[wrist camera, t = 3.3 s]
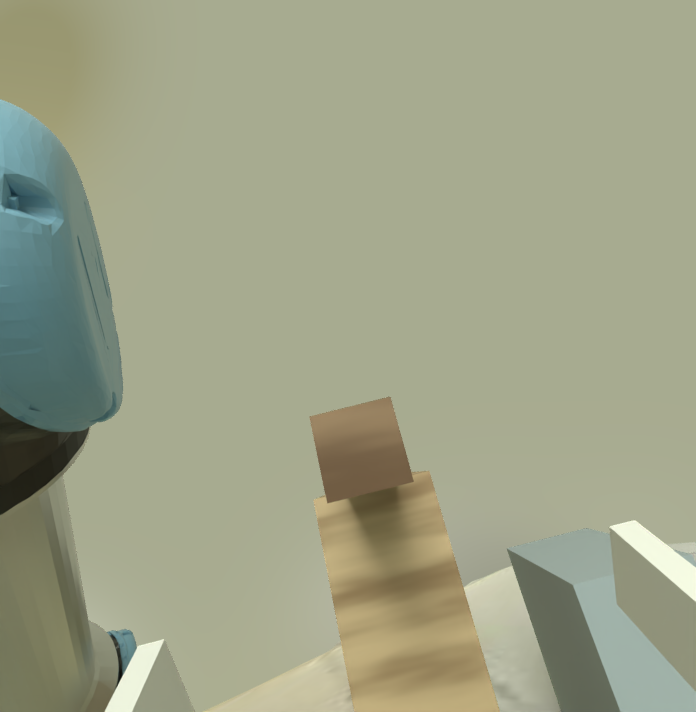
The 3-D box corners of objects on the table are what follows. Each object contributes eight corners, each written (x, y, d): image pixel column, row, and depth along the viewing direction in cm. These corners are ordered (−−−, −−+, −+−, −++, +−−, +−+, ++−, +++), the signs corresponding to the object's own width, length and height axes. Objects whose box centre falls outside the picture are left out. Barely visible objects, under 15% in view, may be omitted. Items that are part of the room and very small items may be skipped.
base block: (875, 941, 21) (691, 554, 27) (722, 982, 21) (572, 584, 27) (680, 759, 34) (586, 528, 40) (585, 784, 34) (506, 548, 40)
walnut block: (414, 481, 17) (390, 396, 18) (327, 503, 17) (309, 416, 18) (387, 477, 45) (379, 444, 46) (355, 485, 45) (348, 452, 46)
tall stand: (606, 1074, 19) (429, 470, 28) (434, 1121, 19) (313, 499, 28) (494, 788, 36) (407, 472, 45) (404, 812, 36) (335, 490, 45)
